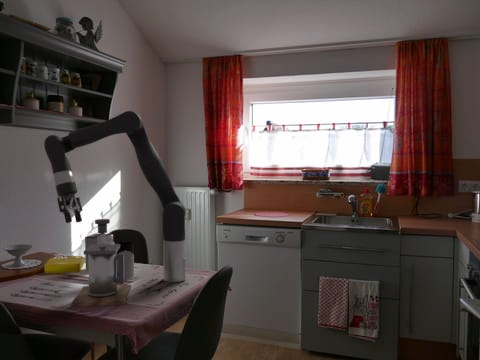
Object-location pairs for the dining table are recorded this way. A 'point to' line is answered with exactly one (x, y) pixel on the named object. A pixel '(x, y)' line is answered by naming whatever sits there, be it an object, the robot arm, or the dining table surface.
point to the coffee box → (89, 241)
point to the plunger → (102, 230)
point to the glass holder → (126, 260)
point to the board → (116, 299)
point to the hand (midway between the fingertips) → (74, 222)
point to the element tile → (64, 265)
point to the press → (104, 270)
